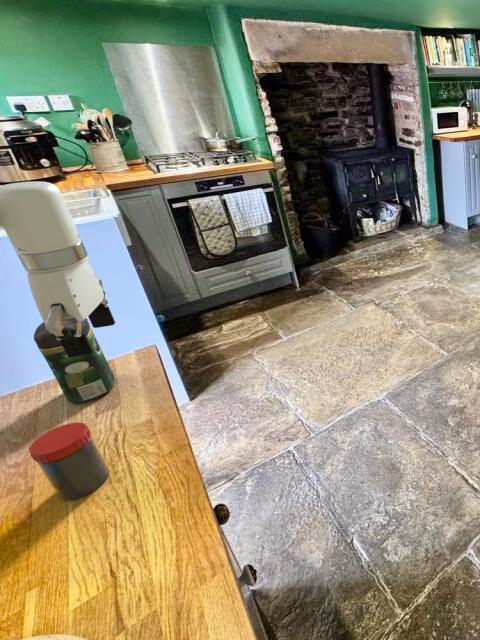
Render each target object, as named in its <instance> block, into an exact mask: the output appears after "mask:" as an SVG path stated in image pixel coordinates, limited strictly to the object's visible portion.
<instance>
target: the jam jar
mask: <svg viewBox="0 0 480 640" xmlns="http://www.w3.org/2000/svg"><path fill="white" fill-rule="evenodd" d="M36 463H37V464H38V466H39V467H40V469H41V471H42V472H43V474H44V475H45V477H46V479H47V480H48V482H49V483H50V485H51V486H52V488H53V490H54V491H55V493H56V494H57V496H58V498H59V499H60V500H62V501H66V502H67V501H74V500H78V499H81V498H83V497H86V496H88V495H90V494H91V493H94V492H95V491H96V490H98V489H99V488H100V487H102V486H103V485H104V484H105V483H106V482H107V480H108V479H109V477H110V474H111V473H110V469H109V467H108V465H107V464H106V462H105V460H104V458H103V456H102V454H101V452H100V450H99V448H98V447H97V445H96V443H95V441H94V439H93V438H92V435H91V436H90V439H89V440H88V442H87V443H86V444H85V445H84V446H83V447H82V448H80V449H79V450H77V451H76V452H74V453H73V454H71V455H69V456H67V457H65V458H62V459H59V460H56V461H53V462H47V463H40V462H37V461H36Z"/></svg>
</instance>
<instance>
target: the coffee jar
mask: <svg viewBox="0 0 480 640" xmlns="http://www.w3.org/2000/svg"><path fill="white" fill-rule="evenodd" d="M69 319H75V317H69V318H64V320H69ZM45 325H46V324H45V323H44V321H43V322H42V323H40V324H39V325H38V326H37V327H36V328H35V331H34V333H33V341H34V343H35V344H36V346H37V349H38V350H39V352H40V354H42V356H43V358H44V360H45V361H46V363H47V365H48V367H49V369H50V370H51V372H52V374H53V376H54V378H55V379H56V382H57V384H58V385H59V387H60V389H61V391H62V394H63V395H64V397H65V399H66V401H67V402H68V403H70V404H79V403H85V402H86V403H87V402H90V401H92V400H96V399H98V398H100V397H102V396H103V395H106V394H107V393H109V392H111V390H112V389H113V387H114V385H115V375H114V372H113V371H112V368H111V367H110V365H109V363H108V360H107V358H106V357H105V354H104V351H103V350H102V347H101V346H100V344H99V341H98V339H97V337H96V336H95V332H94V330H93V329H92V327H91V325H90V322H89V321H88V318H86V319H84V320H83V321H82V334H83V333H85V334H86V336H87V338H88V340H89V342H90V344H91V347H92V349H93V352H92V353H91V354H87V355H82V356H76V357H68V356H67V354H66V352H65V350H64V348H63V346H62V344H61V342H60V340H57V339H56V337H53V336H52V335H51V333H50V332H49V331H48V330H46V328H45ZM65 328H69V329H72V330H73V324H68V325H65Z"/></svg>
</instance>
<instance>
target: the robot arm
mask: <svg viewBox="0 0 480 640" xmlns="http://www.w3.org/2000/svg"><path fill="white" fill-rule="evenodd" d="M0 228H3V229H4V231H5V233H6V235H7V237H8V239H9V241H10V243H11V245H12V247H13V250H14V251H15V253H16V255H17V257H18V260H19V261H20V263H21V265H22V267H23V268H24V271H25V272H26V273H27V274H26V275H27V281H28V285H29V289H30V293H31V295H32V298H33V300H34V303H35V306H36V308H37V310H38V312H39V315H40V317H41V319H42V321H43V322H44V323H45V324H46V325H45V328H46V330H48V331H49V332H50V333H51V335H52V336H53V337H56V339H57V340H60V342H61V344H62V346H63V348H64V350H65V352H66V354H67V356H68V357H76V356H82V355H87V354H91V353H92V352H93V349H92V347H91V344H90V342H89V340H88V338H87V336H86V334H85V333H83V334H82V321H83V320H84V319H89V321H90V322H89V323H90V324H91V326H92V328H94V329H98V328H104V327H111V326H114V325H115V324H116V320H115V318H114V316H113V314H112V311H111V309H110V307H109V301H108V300H107V299H106V291H105V290H104V287H103V281H102V280H101V279H99V278H98V276H97V274H96V272H95V271H94V269H93V267H92V265H91V264H90V261H89V258H90V257H89V254H88V252H87V249H86V248H85V245H84V242H83V240H82V238H81V236H80V234H79V230H78V229H77V226H76V224H75V223H74V220H73V218H72V215H71V212H70V210H69V208H68V206H67V204H66V201H65V199H64V196H63V194H62V191H61V190H60V189H59V187H58V186H57V185H56V184H54V183H52V182H48V181H40V180H39V181H37V180H36V181H35V180H34V181H20V182H12V183H8V184H0ZM69 317H75V319H69V320H64V318H69ZM68 324H73V330H72V329H69V328H65V325H68Z"/></svg>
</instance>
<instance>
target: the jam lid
mask: <svg viewBox="0 0 480 640" xmlns="http://www.w3.org/2000/svg"><path fill="white" fill-rule="evenodd" d="M90 436H91V437H92V433H91V431H90V428H89V427H88V426H87V424H85V423H83V422H70V423H65V424H62V425H59V426H56V427H55V428H52V429H50V430H48V431H47V432H45V433H43V434H41V435H40V436H39V437H37V438H36V439H35V440H34V441H33V442H32V443H31V444H30V446H29V449H28V451H29V454H30V457H31V458H32V460H33V461H34V462H36V463H37V462H40V463H47V462H53V461H56V460H59V459H62V458H65V457H67V456H69V455H71V454H73V453H74V452H76V451H77V450H79V449H80V448H82V447H83V446H84V445H85V444H86V443H87V442H88V440H89V439H90Z"/></svg>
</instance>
